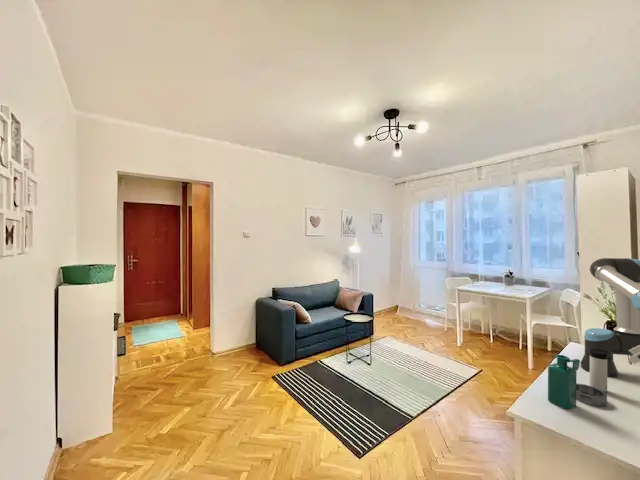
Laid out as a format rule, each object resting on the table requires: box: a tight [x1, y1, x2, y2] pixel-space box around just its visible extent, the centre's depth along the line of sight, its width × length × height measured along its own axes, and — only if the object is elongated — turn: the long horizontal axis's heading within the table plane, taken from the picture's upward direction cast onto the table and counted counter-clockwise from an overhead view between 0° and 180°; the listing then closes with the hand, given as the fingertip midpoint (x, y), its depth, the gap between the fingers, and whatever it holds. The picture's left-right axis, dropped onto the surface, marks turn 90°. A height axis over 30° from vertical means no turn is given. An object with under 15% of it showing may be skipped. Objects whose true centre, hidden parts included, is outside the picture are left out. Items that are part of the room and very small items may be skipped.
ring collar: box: [576, 382, 608, 408], centre depth 132 cm, size 12×12×4 cm
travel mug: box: [589, 349, 608, 394], centre depth 139 cm, size 6×7×20 cm
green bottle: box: [547, 354, 581, 410], centre depth 127 cm, size 10×8×22 cm
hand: (631, 356), depth 131 cm, fingers open, 13 cm apart
